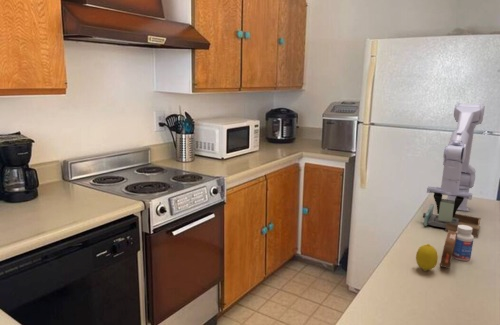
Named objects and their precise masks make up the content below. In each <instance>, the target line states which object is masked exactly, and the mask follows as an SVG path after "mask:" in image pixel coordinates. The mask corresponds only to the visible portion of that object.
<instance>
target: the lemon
mask: <svg viewBox="0 0 500 325" xmlns="http://www.w3.org/2000/svg"><path fill="white" fill-rule="evenodd" d="M438 257H439V254H438V251H437V249H436V248H435V247H433V245H430V244H429V243H427V244H422V245H421V246H419V247H418V248H417V251H416V255H415V261H416V264H417V266H418V267H419V268H420V269H422V270H423V271H425V272H426V271H429V270H433V269H434V268H436V266H437V264H438V262H439V261H438V260H439V258H438Z"/></svg>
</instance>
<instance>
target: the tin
mask: <svg viewBox="0 0 500 325" xmlns="http://www.w3.org/2000/svg"><path fill="white" fill-rule="evenodd" d="M456 239H457V232H454V231H450V230H448V232H447V234H446V238H445V241H444V245H443V249H442V254H441V258H440V263H439V266H440V267H445V268H449V269H450V268H451V264H452V260H453V257H452V254H453V251H454V247H455V243H456Z"/></svg>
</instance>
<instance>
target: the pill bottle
mask: <svg viewBox="0 0 500 325" xmlns="http://www.w3.org/2000/svg"><path fill="white" fill-rule="evenodd" d="M472 230H473V228H472V227H470V226H467V225H458V227H457V239H456V243H455V247H454V251H453V254H452V259H453V258H454V259H455V260H458V261H462V262H463V261H465V262H466V261H470V260H471V258H472V251H473V247H474V246H473V244H474V238H475V237H473V235H472Z"/></svg>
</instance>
